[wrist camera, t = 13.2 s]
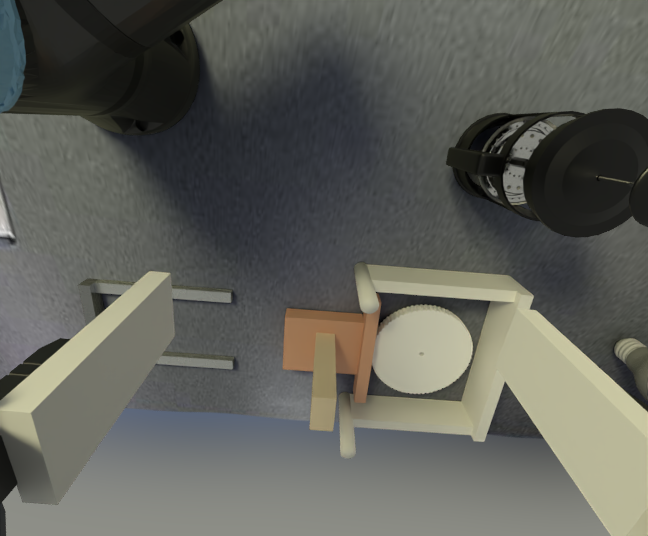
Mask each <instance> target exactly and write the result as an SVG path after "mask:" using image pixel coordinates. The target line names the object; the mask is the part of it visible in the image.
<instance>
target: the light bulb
mask: <svg viewBox="0 0 648 536" xmlns="http://www.w3.org/2000/svg"><path fill="white" fill-rule="evenodd" d="M614 352H615V354H616V356H617V357H618V358H619V359H621V360H622V361H623V362H624V363H625V364H626V365H627V367H628V368H629V369H630V371H631V372H632V373H633V375H634V380H635V383H636V386H637V388H638V390H639V392H640V393H641V395H642V396H643V397H644V398H645V399H646V400H647V401H648V347H646V346H645V345H643V344H642V343H640V342H639V341H637V340H636V339H633V338H628V339H622V340H619V341H617V342H616V344H615V348H614Z"/></svg>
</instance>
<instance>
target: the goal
mask: <svg viewBox="0 0 648 536" xmlns="http://www.w3.org/2000/svg"><path fill="white" fill-rule="evenodd" d="M354 274H355V280H356V286H357V292H358V297H359V303H360V308H361V310H362V311H363V312H364V313H367V314H372V313H374V312H376V311H377V310H378V308H379V302H378V298H377V295H376V292H384V293H397V294H410V295H423V296H436V297H449V298H462V299H475V300H488V301H490V304H489V307H488V311H487V314H486V318H485V321H484V325H483V328H482V331H481V335H480V338H479V342H478V345H477V349H476V352H475V356H474V359H473V362H472V366H471V369H470V373H469V376H468V380H467V383H466V387H465V390H464V393H463V397H462V400H461V402H460V401H446V400H432V399H418V398H404V397H390V396H376V395H367V397H366V403H356V402H354V394H350V393H348V392H342V393H340V394H339V424H340V451H341V452H340V453H341V456H342V457H343V458H346V459H351V458H353V457H354V456H355V455H356V447H355V435H354V427H360V428H375V429H389V430H403V431H417V432H432V433H446V434H461V435H471V436H472V438H473V441H480V442H484V441H485V438H486V435H487V432H488V429H489V426H490V423H491V420H492V418H493V415H494V412H495V409H496V406H497V403H498V400H499V397H500V394H501V391H502V388H503V385H504V382H505V380H504V379H503V377H502V376H501V374H500V373H499V371H498V370H497V368H496V367H495V365H496V362H497V359H498V357H499V354H500V351H501V349H502V346H503V344H504V341H505V338H506V336H507V333H508V330H509V328H510V325H511V322H512V320H513V317H514V314H515V312H516V309H517V308H518V309H528V310H529V309H530V306H531V303H532V300H533V298H534V296H533V295H532V294H531V293H530V292H529V291H527V290H526V289H525V288H524V287H523V286H521V285H520V284H519V283H518V282H517V281H515V280H514V279H513V278H512V277H511V276H509V275H498V274H485V273H472V272H459V271H446V270H433V269H420V268H408V267H395V266H382V265H369V264H366V263H364V262H359V263H357V264H356V265H355V266H354Z"/></svg>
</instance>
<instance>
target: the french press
mask: <svg viewBox="0 0 648 536" xmlns="http://www.w3.org/2000/svg"><path fill="white" fill-rule="evenodd" d="M558 116H573V117H575V118H576V119H574V120H571V121H569V122H567V123H564V124H562V125H560V126H559V127H556V126H555V125H553V124H552V123H551V122H550V121H547V120H545V119H547V118H549V117H558ZM494 126H502V127H501V128H499V129H498V130H497V131H496V132H495V133H494V134H493V135H492V136H491V137H490V138H489V140H488V141H487V142H486V143H485V145H484V147H483V149H482V151H477V150H471V149H470V147H471V145H472V143H473V141H474V140H475V138H476V137H477V136H478V135H479V134H480V133H481V132H483V131H484V130H486V129H488V128H491V127H494ZM446 165H448V166H451V167H453V172H454V175H455V178H456V180H457V182H458V184H459V185H460V186H461V187H462V188H463V189H464V190H465V191H466V192H468V193H469V194H471V195H473V196H476V197H478V198H484V199H487V200H489V201H491V202H493V203H496V204H498V205H500V206H502V207H504V208H506V209H508V210H511V211H512V212H514V213H516V214H518V215H520V216H522V217H525V218H527V219H530V220H535V221H541V222H542V223H543V224H544V225H545V226H546V227H548V228H549V229H551V230H552V231H554V232H557V233H559V234H562V235H564V236H570V237H589V236H594V235H599V234H602V233H604V232H607V231H609V230H612V229H614V228H615V227H617V226H619V225H621V224H622V223H624V222H625V221H626V220H628V219H629V218H630V217H632V216H633V217H634V219H635V220H636V221H637V222H639V223H640V224H642V225H644V226H647V227H648V119H647V118H646V117H644V116H643V115H641V114H639V113H636V112H634V111H632V110H626V109H621V108H617V109H602V110H598V111H594V112H590V113H588V114H584V113H580V112H574V111H566V112H549V113H532V114H516V115H513V114H508V113H496V114H492V115H488V116H485V117H483V118H481V119H479V120H477V121H476V122H475V123H473V124H472V125H471V126H470V127H469V128H468V129H467V130H466V131H465V132H464V133H463V135H462V136H461V137H460V139H459V141H458V143H457V145H456V147H455V148H452V147H450V148H449V150H448V156H447V161H446ZM467 172H469V173H472V174H475V175H478V177H479V180H480V183H481V186H482V187H481V186H478V185H477V184H475V183H474V182H473V181H472V180H471V179H470V177H469V176H468V174H467ZM524 203H527V204H528V206H529V208H530V209H531V210H532V211H530V210H528V209H525V208H523V207H521V206H518V205H520V204H524Z"/></svg>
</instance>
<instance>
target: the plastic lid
mask: <svg viewBox="0 0 648 536" xmlns="http://www.w3.org/2000/svg"><path fill="white" fill-rule="evenodd" d="M471 340H472V338H471V335H470V334H469V331H468V330H467V328H466V326H465V325H464V323H463V322H462V321H461V319H459V317H458V316H456V315H455V314H453V313H452V312H451V311H450V312H449V310H447V309H446V310H445V308H441V307H440V306H438V307H437V306H436V305H434V306H432V305H427V304H425V305H422V304H420V305H415V306H413V305H412V306H411V307H408V306H407V307H406V308H402V310H400V309H399V310H398V311H397V312H394V314H390V316H389V317H388V316H387V317H386V319H384V320H383V322H381V323H380V326H379V325H378V328H377V334H376V340H375V346H374V353H373V359H372V366H373V369H374V371H375V373H376V375H377V376H378V377H379V379H381V381H384V384H387V386H390V388H394V390H397V391H401V392H405V393H410V394H412V393H414V394H416V393H418V394H420V393H422V394H425V393H429V392H431V393H432V392H433V391H437V390H441V388H445V386H449V384H452V383H453V381H454V382H455V381H456V379H458V378H459V376H461V375H462V373H464V372H465V371H464V370H466V369H467V366H469V364H468V363H470V359H471V358H472V357H471V355H472V354H473V353H472V351H473V349H472V348H473V345H472V344H473V342H472V341H471Z"/></svg>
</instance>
